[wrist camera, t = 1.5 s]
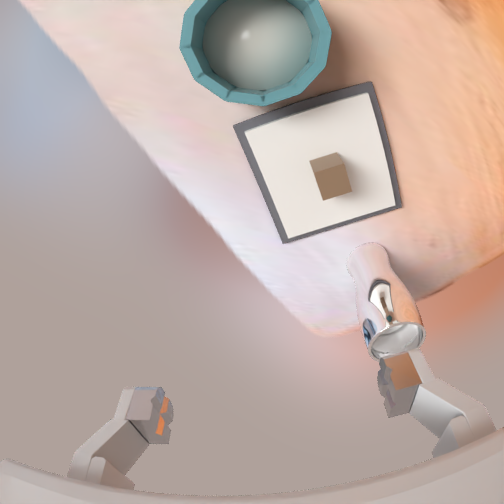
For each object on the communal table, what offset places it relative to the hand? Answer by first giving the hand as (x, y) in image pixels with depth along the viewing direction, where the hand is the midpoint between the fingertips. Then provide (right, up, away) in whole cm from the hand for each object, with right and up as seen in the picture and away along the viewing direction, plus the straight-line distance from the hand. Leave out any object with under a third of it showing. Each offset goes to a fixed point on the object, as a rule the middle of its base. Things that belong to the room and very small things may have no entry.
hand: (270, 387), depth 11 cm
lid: (+8, +14, +24) cm, 29 cm away
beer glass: (+15, +4, +32) cm, 35 cm away
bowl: (0, +27, +17) cm, 32 cm away
